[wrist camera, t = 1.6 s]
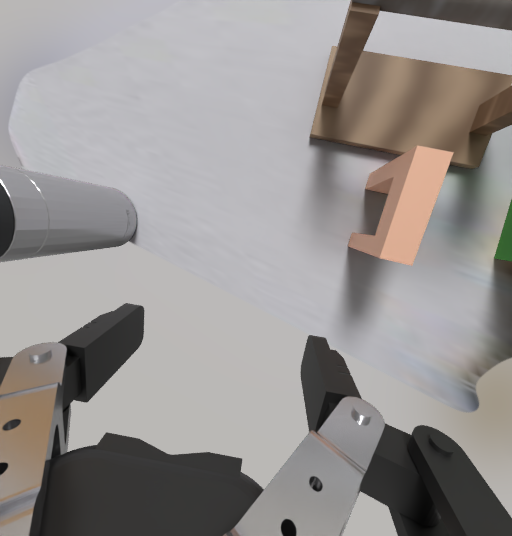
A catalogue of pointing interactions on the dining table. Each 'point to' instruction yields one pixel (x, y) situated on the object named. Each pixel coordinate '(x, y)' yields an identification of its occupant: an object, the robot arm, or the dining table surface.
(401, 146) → the wooden rack with bar
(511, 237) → the hardback book
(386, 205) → the pink c-shaped hook
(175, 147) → the dining table surface
